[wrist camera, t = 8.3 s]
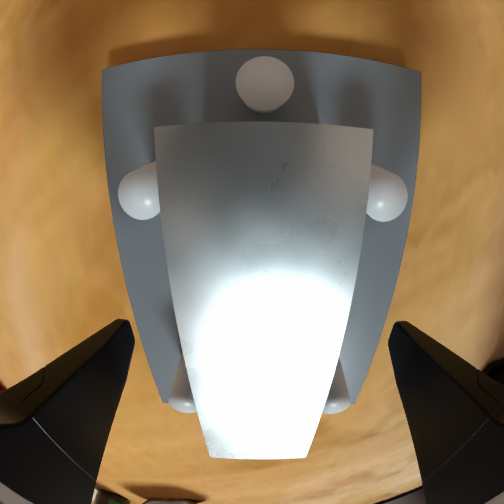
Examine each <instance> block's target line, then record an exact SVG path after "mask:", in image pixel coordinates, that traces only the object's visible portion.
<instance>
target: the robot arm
mask: <svg viewBox="0 0 504 504" xmlns="http://www.w3.org/2000/svg"><path fill="white" fill-rule="evenodd" d="M134 345H135V338H134V335H133V331H132V328H131V325H130V322H129V321H128V320H124V319H117V320H115V321H113V322H112V323H110V324H109V325H107V326H106V327H104V328H103V329H101V330H99V331H98V332H96V333H95V334H93V335H92V336H90V337H89V338H87V339H86V340H84V341H83V342H81V343H80V344H78V345H76V346H75V347H73V348H72V349H70V350H69V351H67V352H66V353H64V354H63V355H61V356H60V357H58V358H57V359H55V360H54V361H52V362H51V363H49V364H48V365H46V366H45V367H43V368H42V369H40V370H39V371H37V372H36V373H34V374H32V375H31V376H29V377H28V378H26V379H24V380H23V381H21V382H19V383H17V384H16V385H14V386H12V387H10V388H8V389H7V390H5V391H3V392H1V393H0V504H91V502H92V497H93V493H94V489H95V485H96V480H97V476H98V472H99V468H100V465H101V461H102V457H103V454H104V450H105V447H106V443H107V440H108V436H109V433H110V430H111V426H112V423H113V420H114V417H115V413H116V410H117V407H118V404H119V401H120V398H121V395H122V392H123V389H124V386H125V383H126V379H127V375H128V371H129V366H130V362H131V358H132V353H133V349H134ZM388 347H389V351H390V356H391V360H392V365H393V370H394V375H395V380H396V384H397V387H398V390H399V394H400V397H401V400H402V404H403V407H404V410H405V414H406V417H407V421H408V425H409V428H410V432H411V436H412V440H413V444H414V448H415V452H416V456H417V461H418V465H419V470H420V474H421V479H422V482H423V483H422V485H423V490H424V495H425V501H426V504H504V359H502V360H499V361H496V362H493V363H491V364H490V365H489V366H488V367H487V369H486V371H485V372H484V373H483V372H481V371H480V370H478V369H477V370H476V368H475V367H474V366H472V365H471V364H470V363H468V362H467V361H465V360H464V359H462V358H461V357H459V356H458V355H456V354H455V353H453V352H452V351H451V350H449V349H448V348H446V347H445V346H443V345H442V344H440V343H439V342H437V341H436V340H434V339H433V338H431V337H430V336H428V335H427V334H425V333H424V332H422V331H421V330H419V329H418V328H416V327H415V326H413V325H412V324H410V323H409V322H407V321H397V322H395V323H394V325H393V328H392V331H391V334H390V337H389V340H388Z"/></svg>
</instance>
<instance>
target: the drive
mask: <svg viewBox="0 0 504 504" xmlns="http://www.w3.org/2000/svg"><path fill="white" fill-rule="evenodd" d="M154 140H155V157H156V172H157V184H158V195H159V205H160V215H161V224H162V232H163V240H164V248H165V255H166V262H167V269H168V275H169V282H170V288H171V294H172V300H173V305H174V311H175V316H176V321H177V327H178V332H179V337H180V342H181V346H182V351H183V356H184V360H185V365H186V369H187V373H188V378H189V382H190V386H191V390H192V394H193V398H194V402H195V406H196V409H197V413H198V417H199V420H200V424H201V428H202V431H203V434H204V438H205V441H206V445H207V448H208V451H209V454H210V457H216V458H232V459H292V458H306V456H307V453H308V451H309V448H310V445H311V442H312V440H313V437H314V434H315V431H316V428H317V426H318V423H319V420H320V417H321V414H322V411H323V408H324V404H325V401H326V398H327V395H328V392H329V388H330V385H331V382H332V378H333V375H334V371H335V367H336V364H337V360H338V356H339V353H340V349H341V345H342V341H343V337H344V333H345V328H346V324H347V320H348V315H349V311H350V306H351V302H352V297H353V292H354V287H355V282H356V276H357V271H358V265H359V259H360V253H361V247H362V241H363V234H364V227H365V219H366V212H367V203H368V194H369V185H370V174H371V162H372V147H373V129H366V128H358V127H349V126H339V125H328V124H314V123H296V122H213V123H195V124H181V125H170V126H160V127H154Z"/></svg>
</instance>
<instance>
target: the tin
mask: <svg viewBox="0 0 504 504" xmlns="http://www.w3.org/2000/svg"><path fill="white" fill-rule="evenodd" d="M143 504H197V503H194V502H192V501H189V500H184V499H149V500H147V501H145V502H144V503H143Z"/></svg>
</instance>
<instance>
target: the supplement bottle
mask: <svg viewBox="0 0 504 504" xmlns="http://www.w3.org/2000/svg"><path fill="white" fill-rule="evenodd" d="M94 504H130V501H129V500H128V499H126V498H124V497H122V496H119V495H117V494H114V493H112V492H109V491H105V490H98V491H97V494H96V497H95V500H94Z"/></svg>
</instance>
